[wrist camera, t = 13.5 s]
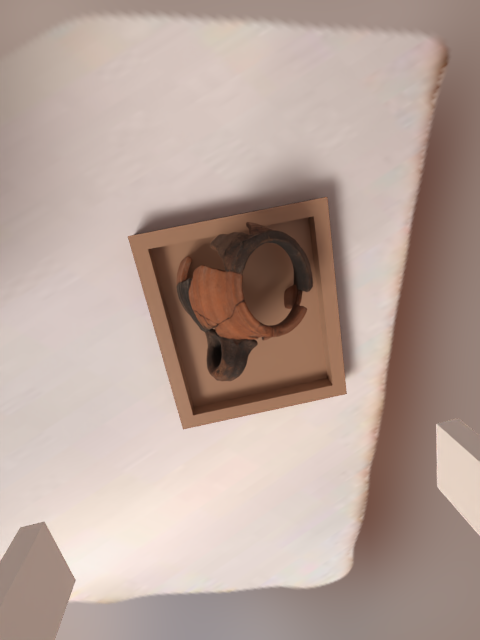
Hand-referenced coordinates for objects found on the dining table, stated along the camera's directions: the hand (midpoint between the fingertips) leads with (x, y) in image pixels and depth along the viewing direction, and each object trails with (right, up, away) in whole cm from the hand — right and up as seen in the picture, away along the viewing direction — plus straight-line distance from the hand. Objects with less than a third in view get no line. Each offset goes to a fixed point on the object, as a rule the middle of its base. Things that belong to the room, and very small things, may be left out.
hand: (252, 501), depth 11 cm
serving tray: (0, +6, +18) cm, 19 cm away
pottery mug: (-1, +8, +17) cm, 19 cm away
